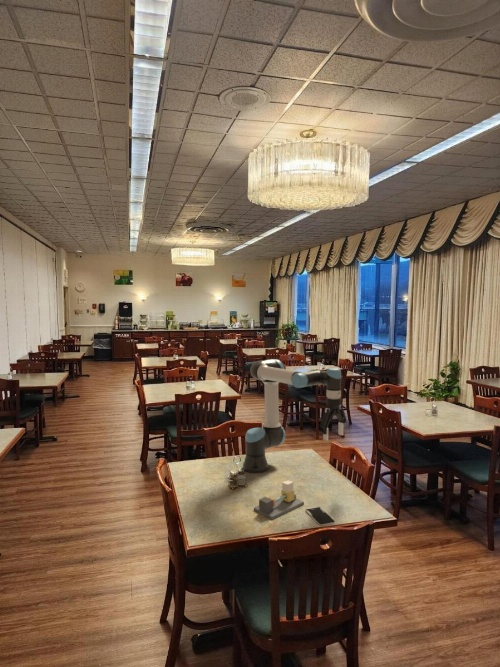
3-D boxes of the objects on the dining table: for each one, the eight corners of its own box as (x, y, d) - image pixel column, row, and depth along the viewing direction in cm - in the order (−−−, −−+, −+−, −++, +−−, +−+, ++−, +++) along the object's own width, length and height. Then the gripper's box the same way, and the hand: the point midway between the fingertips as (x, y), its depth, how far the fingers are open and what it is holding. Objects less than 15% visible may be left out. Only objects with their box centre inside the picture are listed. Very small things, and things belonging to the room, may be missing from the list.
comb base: (254, 510, 195) (254, 497, 195) (285, 496, 210) (285, 483, 209) (271, 519, 186) (271, 505, 186) (303, 504, 201) (303, 491, 200)
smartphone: (320, 524, 180) (305, 508, 194) (320, 527, 180) (305, 511, 194) (335, 521, 182) (319, 506, 197) (335, 524, 182) (319, 509, 197)
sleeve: (281, 499, 202) (281, 482, 202) (287, 496, 205) (287, 479, 204) (288, 502, 199) (288, 484, 198) (294, 499, 201) (294, 482, 201)
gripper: (325, 402, 205) (324, 444, 206) (353, 395, 222) (352, 434, 223) (313, 400, 210) (313, 440, 211) (341, 393, 227) (341, 431, 228)
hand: (333, 437), depth 217 cm, fingers open, 13 cm apart
